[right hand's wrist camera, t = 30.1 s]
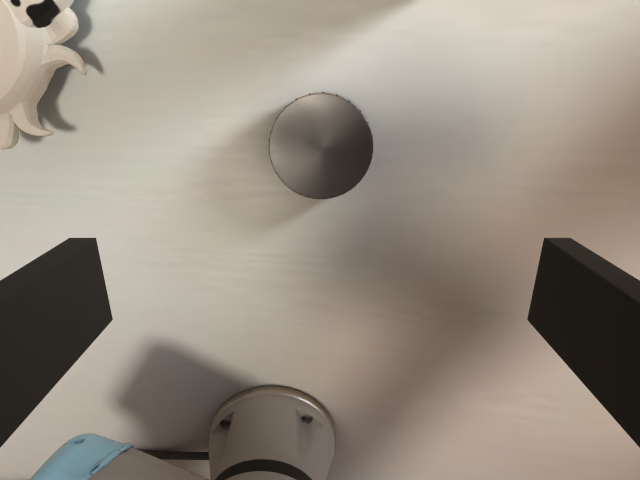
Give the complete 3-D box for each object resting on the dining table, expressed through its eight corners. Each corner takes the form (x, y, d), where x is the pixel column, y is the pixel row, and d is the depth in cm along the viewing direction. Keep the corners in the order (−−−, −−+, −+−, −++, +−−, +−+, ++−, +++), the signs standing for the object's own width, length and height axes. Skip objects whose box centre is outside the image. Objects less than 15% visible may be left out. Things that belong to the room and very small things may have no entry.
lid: (251, 132, 38) (247, 135, 36) (333, 70, 37) (334, 69, 34) (309, 211, 41) (309, 218, 39) (389, 157, 39) (393, 161, 37)
